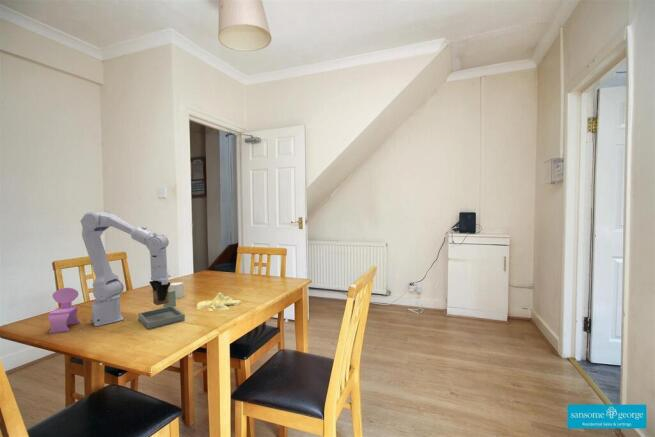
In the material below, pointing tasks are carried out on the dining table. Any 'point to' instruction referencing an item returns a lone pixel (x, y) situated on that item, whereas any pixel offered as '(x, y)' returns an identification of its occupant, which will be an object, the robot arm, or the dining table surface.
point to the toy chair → (63, 310)
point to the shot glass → (178, 289)
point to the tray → (161, 317)
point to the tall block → (171, 299)
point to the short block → (156, 300)
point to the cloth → (218, 303)
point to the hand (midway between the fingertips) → (160, 299)
